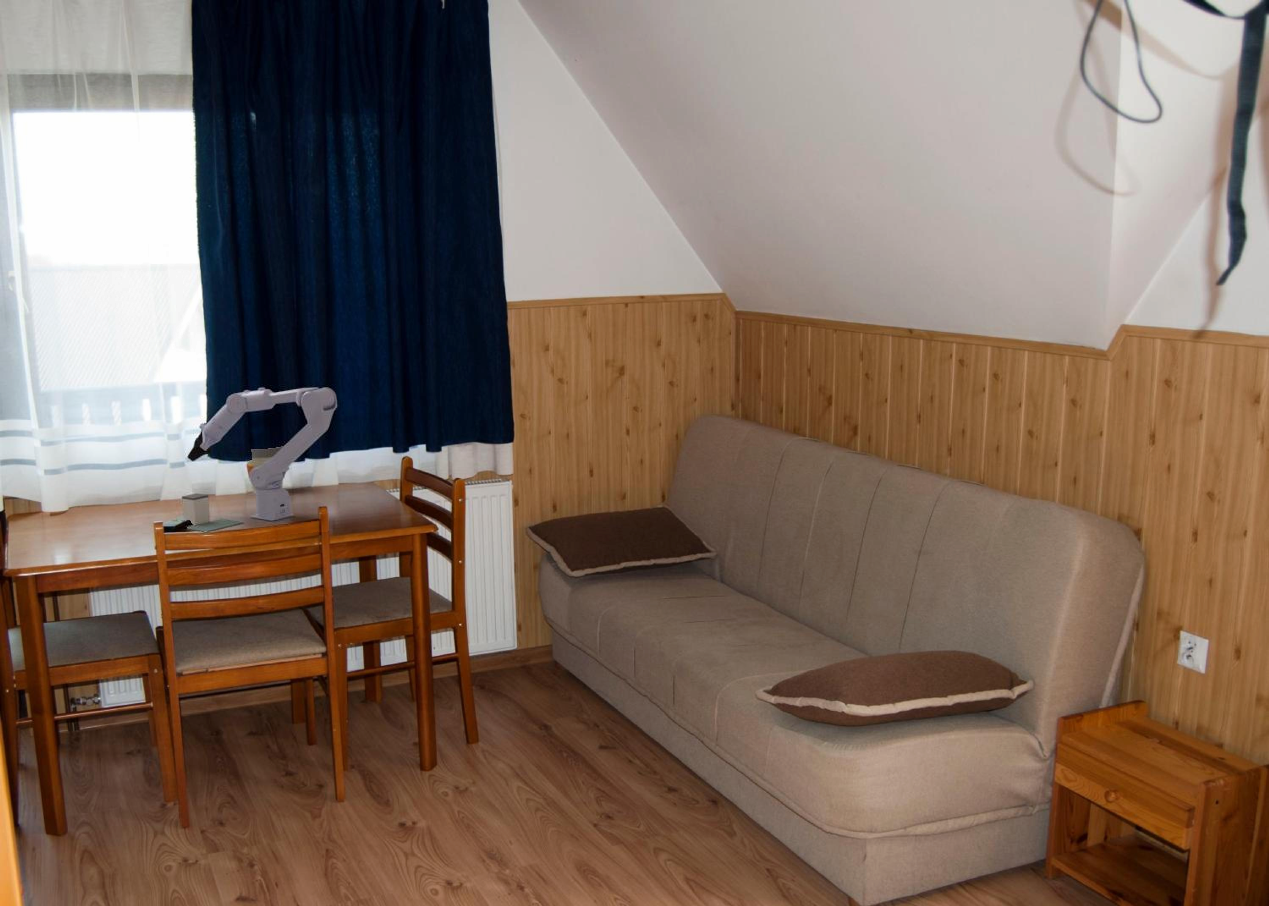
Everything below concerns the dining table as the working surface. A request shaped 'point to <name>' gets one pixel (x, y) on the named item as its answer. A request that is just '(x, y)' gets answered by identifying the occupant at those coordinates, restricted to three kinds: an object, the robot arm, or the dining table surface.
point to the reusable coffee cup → (261, 459)
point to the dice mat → (214, 525)
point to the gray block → (196, 508)
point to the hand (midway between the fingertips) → (193, 452)
